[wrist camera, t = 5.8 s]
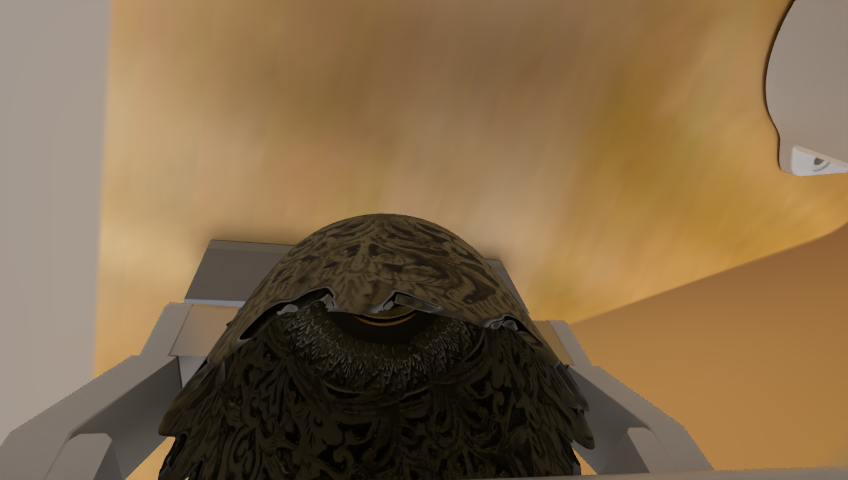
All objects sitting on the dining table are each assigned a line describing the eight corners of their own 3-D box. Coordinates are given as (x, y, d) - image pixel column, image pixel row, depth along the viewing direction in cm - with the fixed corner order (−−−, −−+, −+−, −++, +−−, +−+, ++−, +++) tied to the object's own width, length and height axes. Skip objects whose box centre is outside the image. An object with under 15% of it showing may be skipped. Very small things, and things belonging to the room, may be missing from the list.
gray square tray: (500, 260, 34) (529, 313, 28) (444, 431, 43) (459, 493, 38) (210, 240, 29) (184, 298, 24) (222, 437, 39) (205, 508, 34)
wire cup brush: (326, 375, 17) (285, 642, 10) (221, 203, 13) (40, 415, 6) (518, 311, 16) (625, 546, 9) (457, 115, 13) (551, 240, 6)
